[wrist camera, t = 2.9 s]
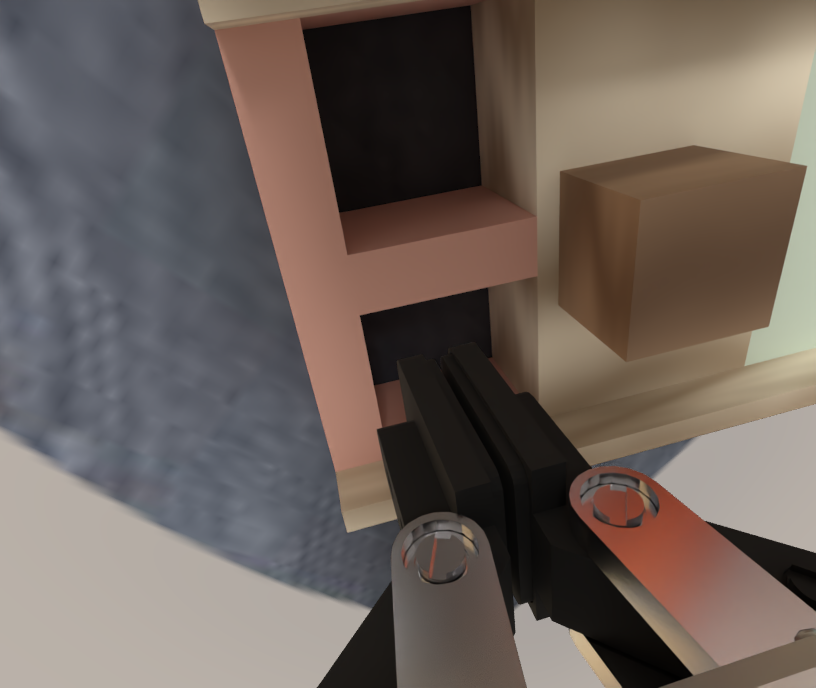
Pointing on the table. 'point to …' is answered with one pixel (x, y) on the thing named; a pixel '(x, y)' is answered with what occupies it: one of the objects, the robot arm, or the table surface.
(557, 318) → the box
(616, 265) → the walnut block
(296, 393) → the table surface
